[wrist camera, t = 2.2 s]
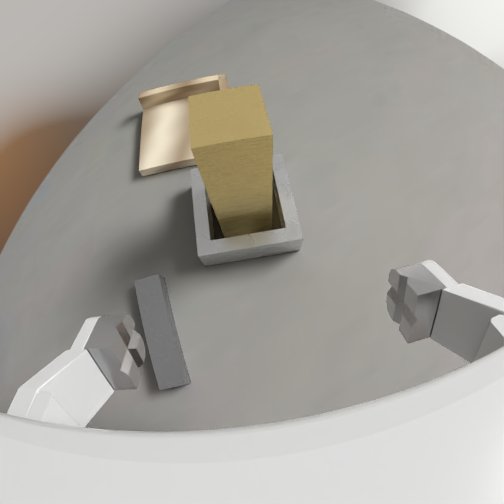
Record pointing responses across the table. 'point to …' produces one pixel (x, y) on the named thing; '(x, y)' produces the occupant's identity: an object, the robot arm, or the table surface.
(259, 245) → the socket collar
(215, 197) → the yellow wooden block
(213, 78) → the rack plate
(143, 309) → the gray rectangular bar
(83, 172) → the table surface
